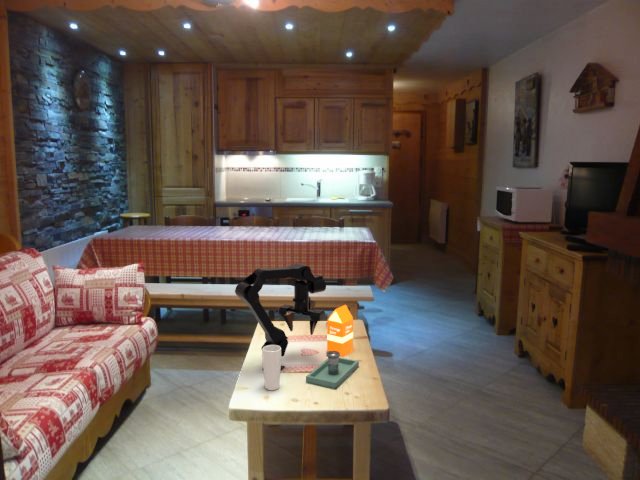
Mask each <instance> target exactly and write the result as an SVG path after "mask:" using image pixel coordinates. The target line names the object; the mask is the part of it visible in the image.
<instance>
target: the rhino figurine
mask: <svg viewBox="0 0 640 480" xmlns="http://www.w3.org/2000/svg"><path fill="white" fill-rule="evenodd" d="M331 315H332V313H331V312H329V313H327V314H326V316H325V318H326V321H327V320H328V319H329V317H330V316H331Z"/></svg>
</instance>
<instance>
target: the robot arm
mask: <svg viewBox="0 0 640 480" xmlns="http://www.w3.org/2000/svg"><path fill="white" fill-rule="evenodd" d="M279 279H280V280H281V279H292V281H290V282H289V285H290V286H291V287H294V293H293V295H294V296H293V297H294V298H292V302H293V304H294V305H291V304H284V305H281V306H279V307H278V311H277V312H278V315H280V317H282V318H283V319H284V321H285V323H286V325H287V327H288V329H289V331H290V332H293V330H294V323H293V322H294V320H293V319H294V314H296V315H302V316H306V317H307V316H308V317H309V318H310V319H309V331H310V332H309V333H310V335H311V336H312V335H313V334H314V331H315V329H316V326H317V324H318V322H319V321H321V320H323V319H324V318H326V312H325V309H318V308H316V301H315V300H312V299H311V296H309V294H317V293H323V292H325V291H326V289H327V284H326V281H325V279H324V276H323V275H321V274H318V275H314V273H313V272H312V269H311V267H310V266H309V265H305V264H302V263H299V262H297V263H293V264H291V265H288V266H286V267H271V268H269V267H268V268H261V267H259V268H258V267H257V268H256V269H255V270H254V271H253V272H252V273H250V274H249V275H247V276H246V277H244V278H243V280H242V281H241V282H239V283H238V284H237V285H236V287H235V290H234V293H235V295H236V296H237V297H238V298H239V300H240V301H242V302H243V303H244V304H245V305H246V306H247V307H248V308H249V310H250V311H251V313H252V314H253V316H254V318H255V319H256V322H258V324H259V326H260V328H261V329H262V330H263V332H264V337H265V342H264V343H263V345H262V347H261V351H262V350H263V347H264V346H267V345H278V346H280V347H281V358H282V357H284V356H285V354H286V351H287V347H288V344H289V337H287V336H286V333H285V331H284V330H282V329H281V328H279V327H276V326H275V325H274V323H273V321H272V320H271V318H270V316H269V315H268V314H267V312H266V310H265V308H264V307H263V305H262V303H261V301H260V294H259V292H260V291H261V290H262V288H263V286H264V283H265V281H267V280H279ZM312 309H313V310H312ZM284 368H285V366H284V365H281V370H280V371H282V370H283V369H284ZM262 371H263V372H264V370H263V368H262Z"/></svg>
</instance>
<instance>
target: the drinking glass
mask: <svg viewBox="0 0 640 480" xmlns="http://www.w3.org/2000/svg"><path fill="white" fill-rule="evenodd" d="M261 352H262V355H261V356H262V357H261V358H262V369H263V370H264V371H263V370H262V371H263V377H264V388H265V389H266V390H268V391H276V390H278V389H279V388H280V387H281V386H280V382H281V371H282V370H281V366H282V357H281V347H280V346H278V345H267V346H264V347H263V350H262V349H261Z"/></svg>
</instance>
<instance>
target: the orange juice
mask: <svg viewBox="0 0 640 480" xmlns="http://www.w3.org/2000/svg"><path fill="white" fill-rule="evenodd" d="M331 314H332V315H331V316H330V317H329V319H328V320H327V319H326V321H327V322H326V325H327V328H326V329H327V331H326V333H327V335H326V341H327V342H326V343H327V344H326V353H327V352H328V351H339V352H340V358H344V357H345V356H347V355H349V354H350V353H352V352H353V351H354V318H353V315H352V314H351V312H350V310H349V308H348V306H347V304H344V305H342V306H339V307H337V308H335V309H334V311H333V312H332V313H331Z"/></svg>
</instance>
